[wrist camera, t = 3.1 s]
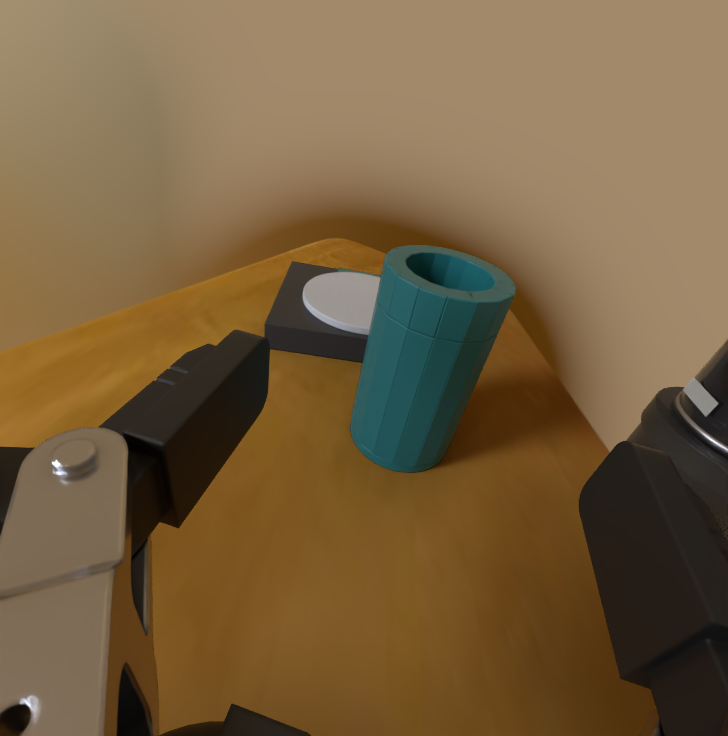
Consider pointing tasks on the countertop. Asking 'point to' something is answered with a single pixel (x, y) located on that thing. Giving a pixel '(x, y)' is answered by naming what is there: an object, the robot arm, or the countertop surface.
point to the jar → (425, 352)
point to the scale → (323, 312)
